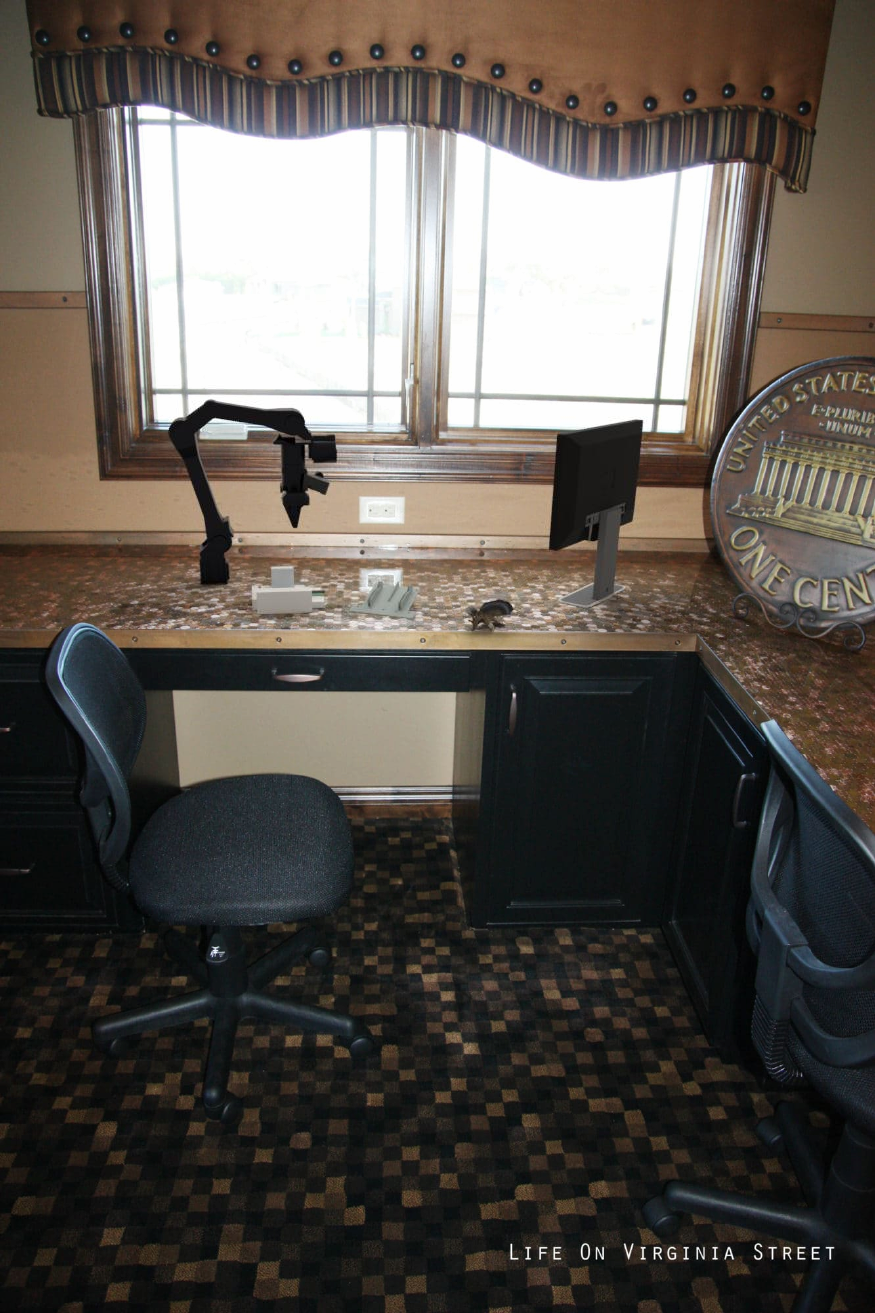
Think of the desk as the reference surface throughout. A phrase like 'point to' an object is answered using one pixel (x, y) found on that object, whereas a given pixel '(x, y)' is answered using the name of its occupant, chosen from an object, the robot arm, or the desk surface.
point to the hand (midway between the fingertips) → (295, 527)
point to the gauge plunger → (285, 578)
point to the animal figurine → (489, 613)
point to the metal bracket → (388, 601)
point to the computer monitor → (595, 498)
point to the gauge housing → (286, 600)
